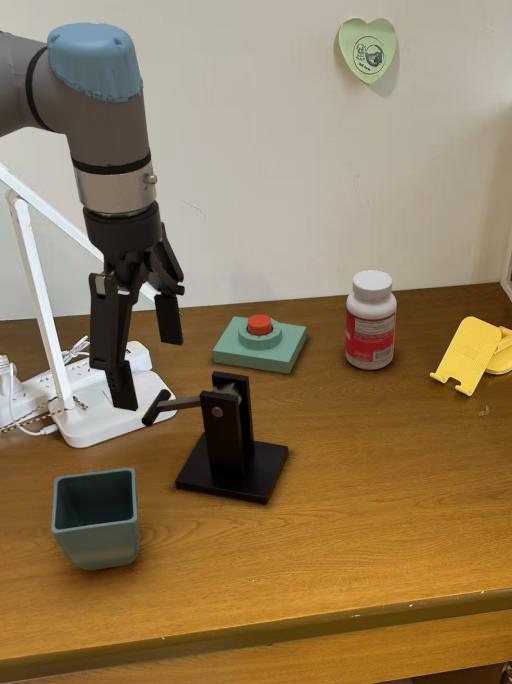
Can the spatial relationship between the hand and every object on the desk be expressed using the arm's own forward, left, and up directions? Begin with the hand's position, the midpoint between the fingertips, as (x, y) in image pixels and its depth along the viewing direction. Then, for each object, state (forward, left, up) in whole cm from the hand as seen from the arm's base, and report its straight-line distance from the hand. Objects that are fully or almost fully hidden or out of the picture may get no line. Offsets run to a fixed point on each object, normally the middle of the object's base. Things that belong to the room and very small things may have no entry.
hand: (150, 373), depth 92 cm
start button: (-5, +27, -10) cm, 29 cm away
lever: (+5, +2, -4) cm, 7 cm away
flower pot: (+6, -16, -14) cm, 22 cm away
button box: (-5, +27, -14) cm, 31 cm away
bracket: (+9, +3, -14) cm, 17 cm away
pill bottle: (+10, +35, -14) cm, 39 cm away
